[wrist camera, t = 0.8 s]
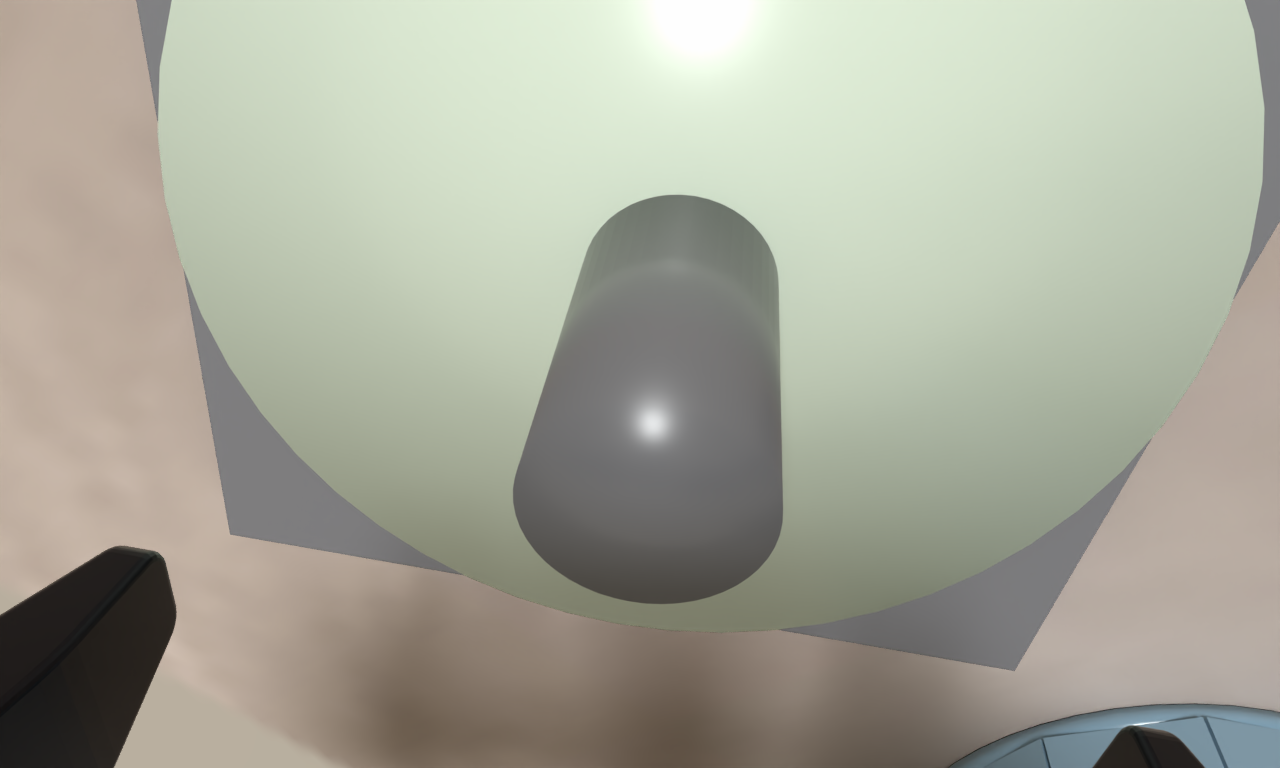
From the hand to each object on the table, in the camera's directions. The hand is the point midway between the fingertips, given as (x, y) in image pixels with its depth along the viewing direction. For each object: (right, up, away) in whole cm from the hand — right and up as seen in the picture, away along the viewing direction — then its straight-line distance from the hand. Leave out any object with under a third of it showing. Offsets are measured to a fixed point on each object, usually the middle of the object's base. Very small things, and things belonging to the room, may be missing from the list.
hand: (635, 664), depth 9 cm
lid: (+1, +5, +6) cm, 8 cm away
